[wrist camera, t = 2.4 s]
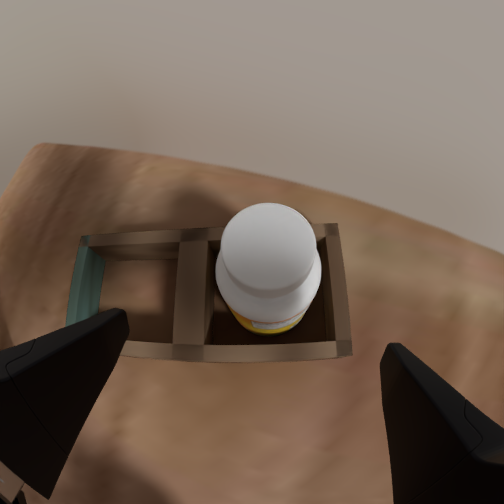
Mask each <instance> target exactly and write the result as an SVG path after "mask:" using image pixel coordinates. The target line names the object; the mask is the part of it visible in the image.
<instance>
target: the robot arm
mask: <svg viewBox="0 0 504 504" xmlns="http://www.w3.org/2000/svg"><path fill="white" fill-rule="evenodd" d="M128 335H129V325H128V320H127V315H126V312H125V311H124V310H123V309H119V308H113V309H110V310H107V311H105V312H102V313H100V314H97V315H95V316H92V317H90V318H87V319H84V320H82V321H79V322H77V323H74V324H72V325H69V326H66V327H64V328H61V329H59V330H56V331H54V332H51V333H49V334H46V335H43V336H41V337H38V338H37V339H33V340H30V341H28V342H25V343H22V344H20V345H17V346H14V347H11V348H8V349H4V350H1V351H0V504H27V503H26V499H25V496H24V492H23V491H22V490H21V489H22V487H23V485H24V484H25V483H26V484H27V485H29V486H30V487H31V488H33V489H34V490H35V491H37V492H38V493H39V494H41V495H42V496H44V497H45V498H46V499H48V500H49V498H50V496H51V494H52V492H53V489H54V487H55V485H56V482H57V480H58V478H59V476H60V473H61V471H62V469H63V467H64V465H65V463H66V460H67V458H68V456H69V454H70V452H71V449H72V447H73V445H74V443H75V441H76V439H77V437H78V435H79V433H80V431H81V429H82V427H83V425H84V423H85V421H86V419H87V417H88V415H89V413H90V411H91V410H92V408H93V406H94V404H95V402H96V400H97V398H98V396H99V395H100V393H101V391H102V389H103V387H104V385H105V383H106V382H107V380H108V378H109V376H110V374H111V373H112V371H113V369H114V367H115V365H116V363H117V360H118V358H119V356H120V353H121V351H122V349H123V346H124V344H125V342H126V340H127V337H128ZM380 377H381V391H382V406H383V412H384V419H385V425H386V432H387V439H388V447H389V455H390V464H391V474H392V486H393V502H394V504H504V428H502V427H501V426H500V425H498V424H497V423H496V422H494V421H493V420H491V419H490V418H489V417H488V416H486V415H485V414H484V413H482V412H481V411H480V410H479V409H478V408H476V407H475V406H474V405H473V404H472V403H470V402H469V401H468V400H467V399H465V397H464V396H462V395H461V394H460V393H459V392H458V391H457V390H455V389H454V388H453V387H452V386H451V385H450V384H448V383H447V382H446V381H445V380H444V379H443V378H441V377H440V376H439V375H438V374H437V373H435V372H434V371H433V370H432V369H431V368H430V367H428V366H427V365H426V364H425V363H424V362H422V361H421V360H420V359H419V358H418V357H416V356H415V355H414V354H413V353H412V352H410V351H409V350H408V349H407V348H406V347H404V346H403V345H402V344H401V343H389V344H388V345H387V347H386V349H385V352H384V354H383V357H382V359H381V362H380Z"/></svg>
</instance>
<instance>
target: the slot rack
mask: <svg viewBox="0 0 504 504" xmlns="http://www.w3.org/2000/svg"><path fill="white" fill-rule="evenodd" d="M310 225H311V227H312V229H313V232H314V234H315V238H316V249H317V251H318V254H319V257H320V261H321V279H322V290H323V302H324V315H325V329H326V342H313V343H297V344H274V345H213V319H214V283H215V258H218V254H219V252H220V250H221V238H222V235H223V232H224V229H225V228H226V227H212V228H192V229H174V230H157V231H142V232H127V233H113V234H100V235H87V236H81V240H80V244H79V248H78V253H77V257H76V262H75V267H74V272H73V278H72V283H71V289H70V295H69V302H68V309H67V317H66V325H65V327H66V326H69V325H72V324H74V323H77V322H79V321H82V320H84V319H87V318H90V317H92V316H95V315H97V314H98V308H99V300H100V292H101V285H102V279H103V273H104V267H105V261H118V260H153V259H178V266H177V278H176V291H175V306H174V323H173V344H169V343H153V342H140V341H128V340H126V342H125V344H124V346H123V349H122V351H121V353H120V356H127V357H136V358H146V359H157V360H170V361H187V362H212V363H268V362H293V361H309V360H323V359H334V358H342V357H347V356H351V355H352V340H351V327H350V316H349V305H348V296H347V287H346V279H345V271H344V263H343V256H342V249H341V242H340V236H339V230H338V224H337V223H330V224H310Z"/></svg>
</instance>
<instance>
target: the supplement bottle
mask: <svg viewBox="0 0 504 504" xmlns="http://www.w3.org/2000/svg"><path fill="white" fill-rule="evenodd" d="M216 280H217V285H218V288H219V290H220V293H221V295H222V297H223V298H224V300H225V302H226V303H227V305H228V307H229V308H230V310H231V312H232V313H233V315H234V316H235V318H236V319H237V321H238V322H239V323H240V324H241V325H242V326H243V327H244V328H245V329H247V330H248V331H250V332H252V333H254V334H257V335H260V336H278V335H281V334H284V333H286V332H288V331H289V330H291V329H292V328H293V327H295V326H296V325H297V324H298V323H299V321H300V320H301V319H302V317H303V316H304V314H305V312H306V310H307V309H308V307H309V305H310V303H311V302H312V300H313V298H314V297H315V295H316V292H317V290H318V287H319V284H320V280H321V261H320V257H319V254H318V251H317V249H316V238H315V234H314V232H313V229H312V227H311V225H310V224H309V222H308V221H307V220H306V219H305V218H304V217H303V216H302V215H301V214H300V213H299V212H297V211H296V210H294V209H292V208H290V207H288V206H285V205H281V204H277V203H260V204H256V205H252V206H249V207H247V208H245V209H243V210H242V211H240V212H239V213H237V214H236V215H235V216H234V217H233V218H232V219H231V220H230V221H229V223H228V224H227V226H226V228H225V229H224V232H223V235H222V238H221V250H220V252H219V254H218V258H217V262H216Z"/></svg>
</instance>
